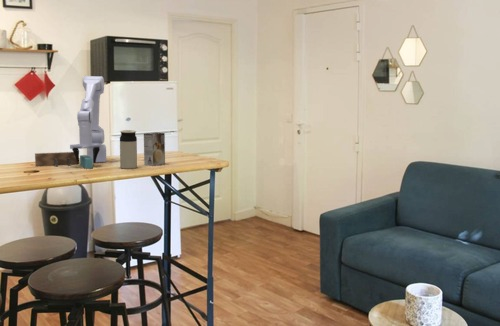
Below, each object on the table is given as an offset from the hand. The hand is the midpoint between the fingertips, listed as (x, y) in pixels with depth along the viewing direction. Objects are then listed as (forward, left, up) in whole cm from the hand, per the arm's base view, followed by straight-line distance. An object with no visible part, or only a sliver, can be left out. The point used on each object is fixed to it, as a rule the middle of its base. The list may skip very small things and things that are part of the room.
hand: (86, 163), depth 252 cm
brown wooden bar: (+12, -9, -2) cm, 15 cm away
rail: (0, 0, -2) cm, 2 cm away
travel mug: (-18, +10, -2) cm, 21 cm away
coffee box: (-33, +4, -2) cm, 33 cm away
